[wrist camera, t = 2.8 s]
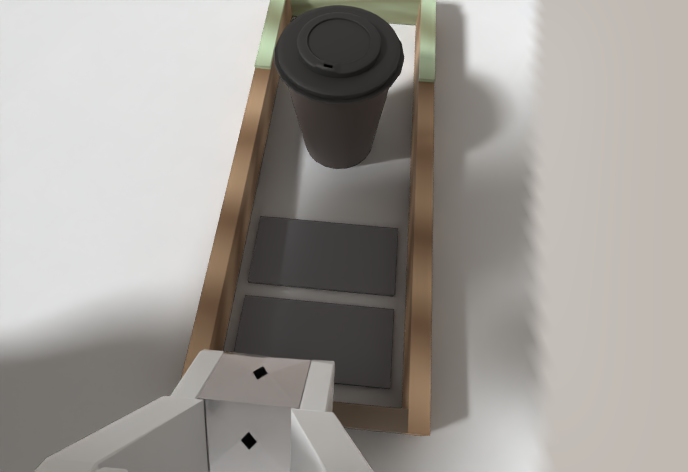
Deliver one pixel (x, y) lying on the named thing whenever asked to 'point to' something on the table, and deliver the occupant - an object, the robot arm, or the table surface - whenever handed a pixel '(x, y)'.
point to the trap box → (225, 260)
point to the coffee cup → (338, 79)
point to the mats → (316, 317)
